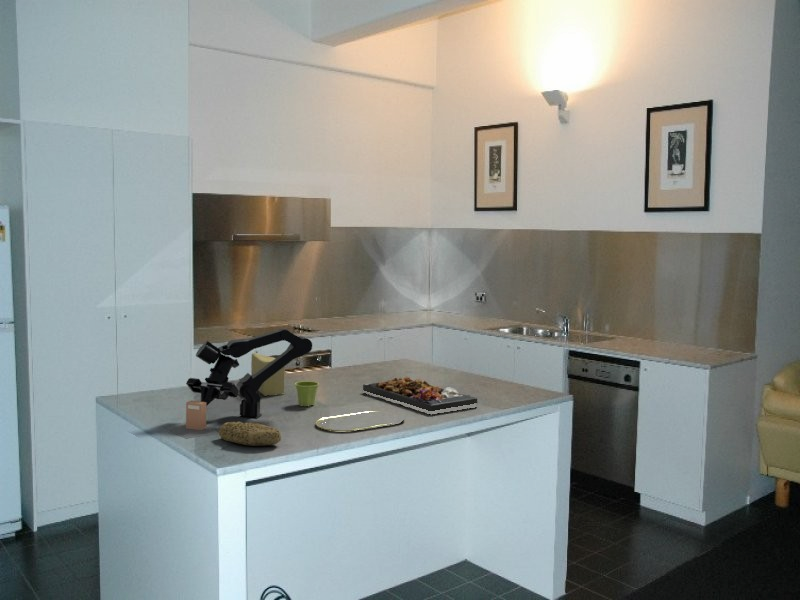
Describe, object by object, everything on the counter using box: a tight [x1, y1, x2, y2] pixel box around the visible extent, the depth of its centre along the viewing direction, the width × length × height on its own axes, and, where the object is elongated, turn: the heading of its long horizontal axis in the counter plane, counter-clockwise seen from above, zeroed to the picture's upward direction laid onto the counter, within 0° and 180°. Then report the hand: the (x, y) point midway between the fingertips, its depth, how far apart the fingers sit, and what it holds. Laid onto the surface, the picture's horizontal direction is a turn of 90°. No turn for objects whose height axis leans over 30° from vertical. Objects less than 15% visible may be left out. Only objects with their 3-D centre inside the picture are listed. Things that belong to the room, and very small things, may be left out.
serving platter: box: [315, 410, 392, 431], centre depth 268 cm, size 19×35×2 cm, turn 126°
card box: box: [185, 400, 207, 430], centre depth 252 cm, size 3×6×9 cm, turn 70°
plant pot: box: [294, 380, 320, 407], centre depth 293 cm, size 9×9×9 cm
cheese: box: [250, 352, 286, 397], centre depth 317 cm, size 22×10×15 cm, turn 35°
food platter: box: [362, 376, 478, 411], centre depth 308 cm, size 45×25×10 cm, turn 38°
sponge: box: [218, 420, 282, 447], centre depth 238 cm, size 13×8×20 cm
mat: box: [165, 424, 219, 440], centre depth 249 cm, size 16×12×1 cm
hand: (202, 407), depth 255 cm, fingers closed
